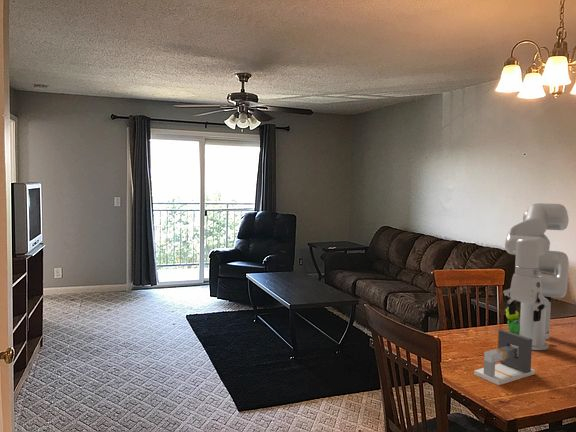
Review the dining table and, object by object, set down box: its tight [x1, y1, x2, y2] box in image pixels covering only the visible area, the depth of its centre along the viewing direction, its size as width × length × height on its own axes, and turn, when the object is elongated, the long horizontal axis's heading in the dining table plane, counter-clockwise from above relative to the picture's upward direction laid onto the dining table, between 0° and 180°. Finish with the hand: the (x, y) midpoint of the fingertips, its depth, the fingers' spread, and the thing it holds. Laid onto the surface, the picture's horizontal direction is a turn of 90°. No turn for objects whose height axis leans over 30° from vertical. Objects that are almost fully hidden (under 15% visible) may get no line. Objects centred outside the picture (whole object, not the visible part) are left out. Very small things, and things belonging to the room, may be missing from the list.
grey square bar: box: [483, 344, 519, 363], centre depth 165 cm, size 19×3×3 cm, turn 119°
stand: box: [473, 356, 536, 386], centre depth 165 cm, size 20×10×6 cm, turn 119°
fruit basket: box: [505, 306, 520, 335], centre depth 215 cm, size 11×9×11 cm
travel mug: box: [544, 296, 552, 336], centre depth 206 cm, size 6×7×20 cm
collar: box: [497, 329, 533, 373], centre depth 167 cm, size 2×12×12 cm, turn 28°
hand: (524, 317), depth 169 cm, fingers open, 9 cm apart
